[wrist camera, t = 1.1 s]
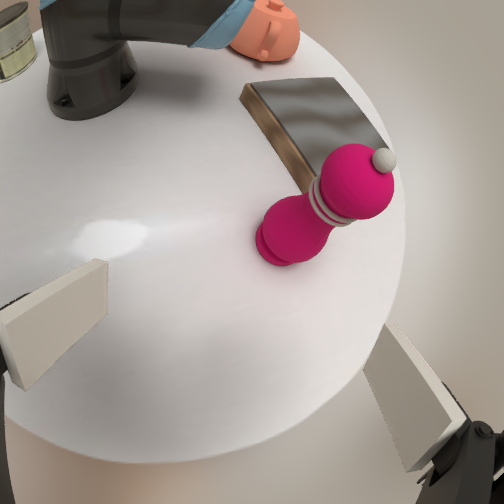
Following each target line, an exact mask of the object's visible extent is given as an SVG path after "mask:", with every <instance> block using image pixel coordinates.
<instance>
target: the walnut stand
mask: <svg viewBox="0 0 504 504" xmlns="http://www.w3.org/2000/svg"><path fill="white" fill-rule="evenodd" d="M239 99H240V101H241V102H242V103H243V105H244V106H245V107H246V109H247V110H248V112H249V113H250V114H251V116H252V117H253V119H254V120H255V122H256V123H257V124H258V126H259V127H260V129H261V130H262V132H263V133H264V135H265V136H266V137H267V139H268V140H269V142H270V143H271V145H272V146H273V148H274V149H275V151H276V152H277V154H278V155H279V157H280V158H281V160H282V162H283V163H284V165H285V166H286V168H287V169H288V171H289V172H290V174H291V176H292V177H293V179H294V180H295V182H296V183H297V185H298V187H299V188H300V190H301V192H302V193H303V194H305V193H306V192H308V191H309V187H310V184H311V182H312V180H313V179H314V178H315V177H316V176H317V175H318V174H319V173H320V172H321V168H322V165H323V163H324V161H325V159H326V158H327V157H328V155H329V154H330V153H331V152H333V151H334V150H335V149H337V148H338V147H340V146H343V145H345V144H351V143H357V144H362V145H366V146H368V147H370V148H372V149H374V150H375V151H376V150H378V149H380V148H387V149H389V148H388V146H387V145H386V143H385V142H384V140H383V139H382V137H381V136H380V135H379V133H378V132H377V130H376V129H375V128H374V126H373V125H372V124H371V122H370V121H369V120H368V118H367V117H366V116H365V114H364V113H363V112H362V110H361V109H360V108H359V107H358V105H357V104H356V103H355V102H354V100H353V99H352V98H351V97H350V96H349V94H348V93H347V92H346V91H345V90H344V89H343V87H342V86H341V85H340V84H339V83H338V82H337V81H336V79H335V78H333V77H327V78H298V79H284V80H272V81H263V82H254V83H247V84H245V86H244V89H243V91H242V93H241V96H240V98H239ZM389 150H390V149H389Z"/></svg>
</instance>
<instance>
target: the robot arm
mask: <svg viewBox="0 0 504 504" xmlns="http://www.w3.org/2000/svg"><path fill="white" fill-rule="evenodd" d="M255 1H256V0H40V7H39V10H40V14H41V21H42V27H43V33H44V38H45V43H46V48H47V53H48V57H49V62H50V69H49V77H48V85H47V99H48V102H49V105H50V108H51V110H52V112H53V113H54V114H55V115H57V116H58V117H60V118H63V119H68V120H82V119H88V118H92V117H95V116H98V115H101V114H104V113H106V112H108V111H110V110H112V109H114V108H115V107H117V106H118V105H120V104H121V103H123V102H124V101H125V100H126V99H127V98H128V97H129V96H130V95H131V94H132V92H133V91H134V89H135V87H136V85H137V65H136V62H135V60H134V57H133V55H132V53H131V50H130V48H129V46H128V43H127V41H128V40H129V41H148V42H160V43H170V44H179V45H186V46H187V47H188V48H193V47H200V48H207V49H221V48H224V47H226V46H227V45H229V44H230V43H231V42H232V41H233V39H234V38H235V37H236V35H237V34H238V32H239V31H240V29H241V27H242V26H243V24H244V22H245V21H246V19H247V17H248V15H249V14H250V12H251V10H252V8H253V6H254V2H255ZM107 282H108V262H105V261H102V260H99V259H94V260H92V261H90V262H88V263H86V264H84V265H82V266H80V267H78V268H76V269H74V270H72V271H70V272H68V273H66V274H64V275H63V276H61V277H59V278H57V279H55V280H53V281H51V282H50V283H48V284H46V285H44V286H42V287H41V288H39V289H37V290H35V291H33V292H31V293H27V294H24V295H22V296H21V297H19V298H17V299H16V300H14V301H12V302H10V304H7V305H5V306H3V307H2V308H0V504H15V500H14V495H13V491H12V486H11V480H10V475H9V469H8V462H7V453H6V442H5V426H4V391H5V379H4V376H3V373H4V372H5V371H7V370H8V372H9V375H10V377H11V380H12V382H13V383H14V384H16V385H17V386H18V387H20V388H21V389H23V390H24V391H25V392H26V391H27V390H28V389H29V388H30V387H31V386H32V385H33V384H34V383H35V382H36V381H37V380H38V379H39V378H40V377H41V376H42V375H43V374H44V373H45V372H46V371H47V370H48V369H49V368H50V367H51V366H52V365H53V364H54V363H55V362H56V361H57V360H58V359H59V358H60V357H61V356H62V355H63V354H64V353H65V352H67V351H68V350H69V349H70V348H71V347H72V346H73V345H74V344H75V343H76V342H77V341H78V340H79V339H80V338H81V337H82V336H84V335H85V334H86V333H87V332H88V331H89V330H90V329H91V328H92V327H93V326H94V325H96V324H97V323H98V322H99V321H100V320H101V319H102V318H103V317H104V316H106V315H107ZM363 371H364V373H365V376H366V378H367V380H368V382H369V384H370V387H371V389H372V391H373V394H374V396H375V398H376V400H377V403H378V405H379V407H380V410H381V412H382V414H383V417H384V419H385V421H386V424H387V426H388V429H389V431H390V434H391V436H392V439H393V441H394V443H395V446H396V449H397V451H398V454H399V456H400V459H401V461H402V464H403V466H404V469H405V472H406V473H408V472H412V471H417V470H421V469H423V467H424V466H425V465H427V464H428V463H429V462H430V460H432V462H433V464H434V466H433V467H432V468H431V469H430V470H429V471H428V472H426V473H425V474H424V475H423V476H422V477H421V478H420V479H419V480H418V482H417V484H419V483H420V482H421V481H422V480H424V479H425V482H424V483H423V484H422V486H423V487H422V490H421V492H420V494H419V497H418V499H417V502H416V504H504V473H503V474H502V475H501V476H500V477H499V478H498V479H497V480H495V481H494V479H493V476H494V475H495V474H496V473H497V472H498V471H499V470H500V469H501V468H502V467H503V466H504V430H503V431H502V433H501V434H499V433H498V434H497V433H494V431H493V430H492V428H491V427H490V426H489V425H488V424H486V423H484V422H482V421H474V422H472V421H471V420H470V418H469V417H468V415H467V414H466V413H465V411H464V409H463V408H462V407H461V405H460V404H459V402H457V401H456V398H455V397H454V395H452V393H451V391H450V390H449V389H448V387H447V386H446V385H445V384H444V383H443V382H442V381H440V380H439V378H438V377H437V376H436V374H435V373H434V372H433V370H432V369H431V368H430V366H429V365H428V364H427V362H426V361H425V360H424V359H423V357H422V356H421V355H420V353H419V352H418V351H417V349H416V348H415V347H414V346H413V345H412V343H411V342H410V341H409V339H408V338H407V337H406V336H405V334H404V333H403V332H402V331H401V330H400V328H399V327H398V326H397V325H392V324H386V323H384V325H383V327H382V330H381V332H380V334H379V337H378V339H377V341H376V343H375V345H374V348H373V350H372V352H371V354H370V356H369V358H368V360H367V362H366V364H365V366H364V368H363Z"/></svg>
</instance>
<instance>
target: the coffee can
mask: <svg viewBox="0 0 504 504" xmlns="http://www.w3.org/2000/svg"><path fill="white" fill-rule="evenodd" d="M36 56H37V54H36V51H35V47H34V41H33V37H32V31H31V26H30V20H29V13H28V2H20V3H17V4H14V5H12V6H10V7H8V8H6V9H4V10H3V11H1V12H0V82H5V81H8V80H11V79H13V78H15V77H16V76H18V75H19V74H21V73H22V72H24V71H25V70H26V69H27V68H28V67H29V66H30V65H31V64H32V63H33V62H34V60H35V59H36Z"/></svg>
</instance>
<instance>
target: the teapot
mask: <svg viewBox="0 0 504 504" xmlns="http://www.w3.org/2000/svg"><path fill="white" fill-rule="evenodd" d="M284 5H285V3H284V2H282V1H280V0H256V1H255V2H254V6H253V8H252V10H251V12H250V14H249V15H248V17H247V19H246V21H245V22H244V24H243V26H242V27H241V29H240V31H239V32H238V34H237V35H236V37H235V38H234V39H233V41H232V42H231V43H230V44H229V45H230V46H231V47H232V48H233V49H234V50H236V51H237V52H239V53H241V54H243V55H245V56H248V57H250V58H253V59H257V60H260V61H279V60H283V59H287V58H289V57H291V56H292V55H294V54H295V52H296V50H297V48H298V45H299V40H300V31H299V25H298V20H297V17H296V15H295V13H294V12H293V11H291V10H290V9H288V8H287V7H285V6H284Z"/></svg>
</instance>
